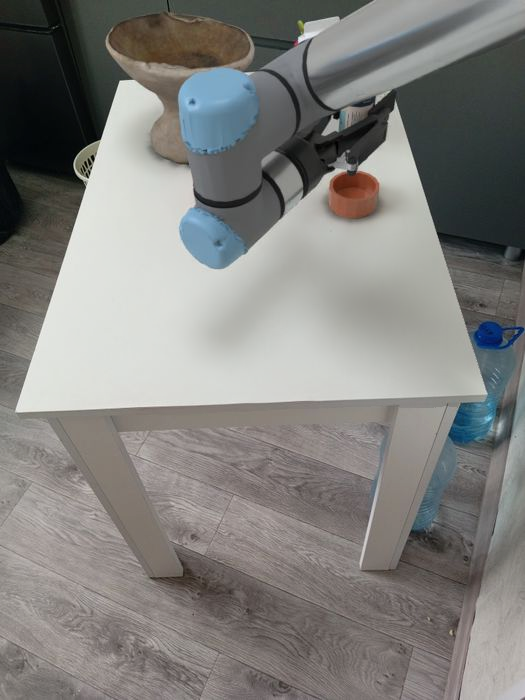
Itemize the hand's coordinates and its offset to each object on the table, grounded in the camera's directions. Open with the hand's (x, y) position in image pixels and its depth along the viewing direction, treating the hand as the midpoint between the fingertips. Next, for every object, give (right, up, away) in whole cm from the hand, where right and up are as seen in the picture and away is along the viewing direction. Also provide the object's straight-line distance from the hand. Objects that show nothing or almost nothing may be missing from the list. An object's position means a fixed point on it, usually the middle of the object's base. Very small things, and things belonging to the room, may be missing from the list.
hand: (375, 95), depth 74 cm
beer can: (-3, -8, +4) cm, 9 cm away
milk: (-6, +2, +24) cm, 25 cm away
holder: (-1, -12, +14) cm, 18 cm away
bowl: (-29, +5, +28) cm, 41 cm away
